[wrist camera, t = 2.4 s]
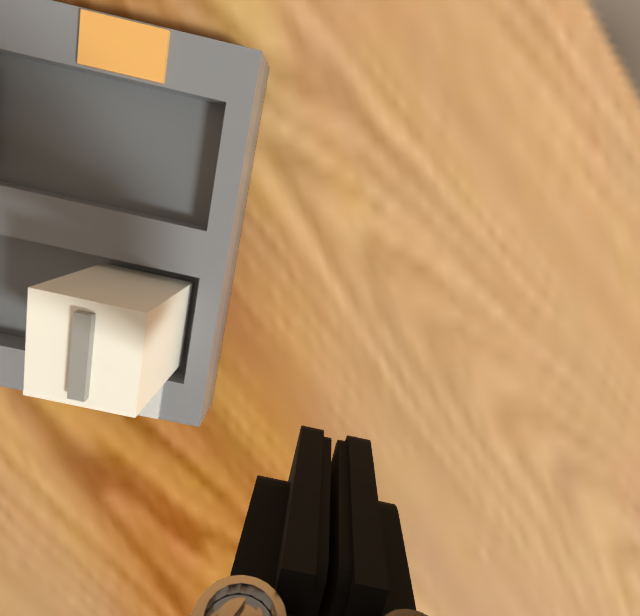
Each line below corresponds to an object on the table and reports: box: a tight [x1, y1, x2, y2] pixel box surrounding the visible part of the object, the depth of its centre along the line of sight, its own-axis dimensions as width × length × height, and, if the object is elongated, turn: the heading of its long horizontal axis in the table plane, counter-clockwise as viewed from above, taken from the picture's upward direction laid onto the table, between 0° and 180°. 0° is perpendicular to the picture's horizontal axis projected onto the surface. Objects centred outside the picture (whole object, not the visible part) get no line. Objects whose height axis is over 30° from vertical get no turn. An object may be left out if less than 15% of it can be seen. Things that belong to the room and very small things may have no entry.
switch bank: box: [0, 0, 269, 427], centre depth 19 cm, size 16×16×2 cm
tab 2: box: [23, 263, 193, 418], centre depth 17 cm, size 4×4×5 cm
